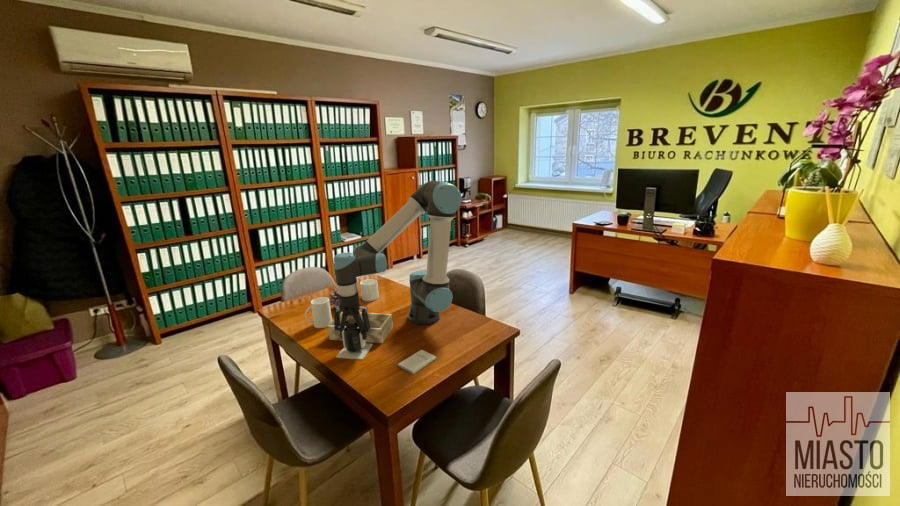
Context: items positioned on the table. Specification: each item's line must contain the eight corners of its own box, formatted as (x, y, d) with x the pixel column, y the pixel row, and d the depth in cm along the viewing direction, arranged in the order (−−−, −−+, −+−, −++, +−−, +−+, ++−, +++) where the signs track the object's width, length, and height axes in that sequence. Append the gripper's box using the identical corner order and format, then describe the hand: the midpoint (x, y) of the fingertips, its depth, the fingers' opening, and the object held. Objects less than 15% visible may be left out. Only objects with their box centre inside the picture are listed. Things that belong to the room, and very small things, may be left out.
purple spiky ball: (329, 305, 188) (326, 284, 184) (353, 302, 191) (350, 281, 187) (328, 314, 177) (325, 292, 174) (353, 311, 180) (351, 289, 177)
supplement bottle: (365, 343, 148) (362, 316, 145) (361, 352, 142) (358, 325, 138) (348, 343, 148) (345, 317, 144) (344, 352, 141) (340, 325, 138)
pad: (373, 344, 149) (373, 343, 149) (362, 359, 139) (362, 358, 139) (348, 342, 151) (348, 342, 151) (336, 357, 141) (336, 356, 141)
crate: (393, 326, 163) (391, 314, 161) (382, 343, 150) (381, 329, 148) (343, 324, 167) (342, 311, 166) (329, 339, 154) (327, 326, 152)
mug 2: (382, 298, 195) (380, 282, 192) (367, 302, 189) (365, 286, 187) (371, 291, 204) (369, 276, 201) (356, 296, 198) (354, 280, 196)
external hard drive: (397, 367, 134) (421, 352, 143) (413, 375, 129) (436, 359, 138) (397, 363, 134) (421, 349, 143) (412, 371, 129) (436, 356, 138)
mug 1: (309, 332, 161) (305, 308, 157) (304, 325, 167) (300, 302, 164) (335, 324, 168) (332, 300, 164) (329, 317, 174) (325, 295, 171)
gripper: (376, 289, 140) (381, 342, 146) (329, 288, 143) (336, 339, 150) (368, 297, 133) (374, 352, 139) (319, 295, 136) (327, 349, 143)
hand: (354, 345), depth 144 cm, fingers closed on supplement bottle, 7 cm apart
